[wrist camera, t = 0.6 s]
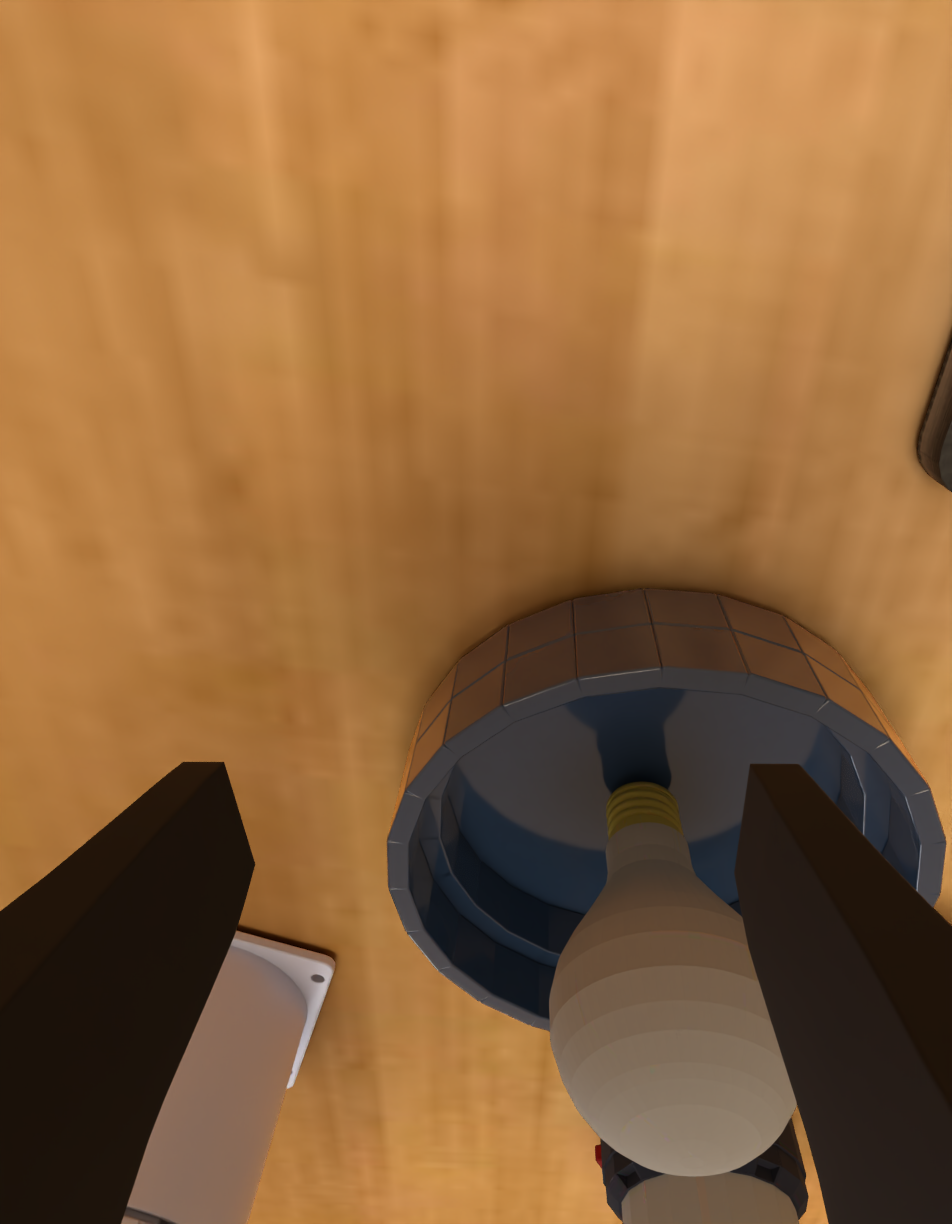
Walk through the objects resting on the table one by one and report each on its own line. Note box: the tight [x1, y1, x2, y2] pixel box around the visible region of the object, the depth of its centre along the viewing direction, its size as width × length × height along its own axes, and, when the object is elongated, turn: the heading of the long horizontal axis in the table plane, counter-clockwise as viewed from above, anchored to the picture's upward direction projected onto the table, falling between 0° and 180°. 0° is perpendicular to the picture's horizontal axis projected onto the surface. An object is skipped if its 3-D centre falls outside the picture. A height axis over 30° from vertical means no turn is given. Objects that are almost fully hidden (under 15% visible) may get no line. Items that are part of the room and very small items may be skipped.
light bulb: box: [549, 782, 797, 1176], centre depth 19 cm, size 6×5×10 cm
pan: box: [387, 588, 946, 1031], centre depth 21 cm, size 14×14×4 cm
